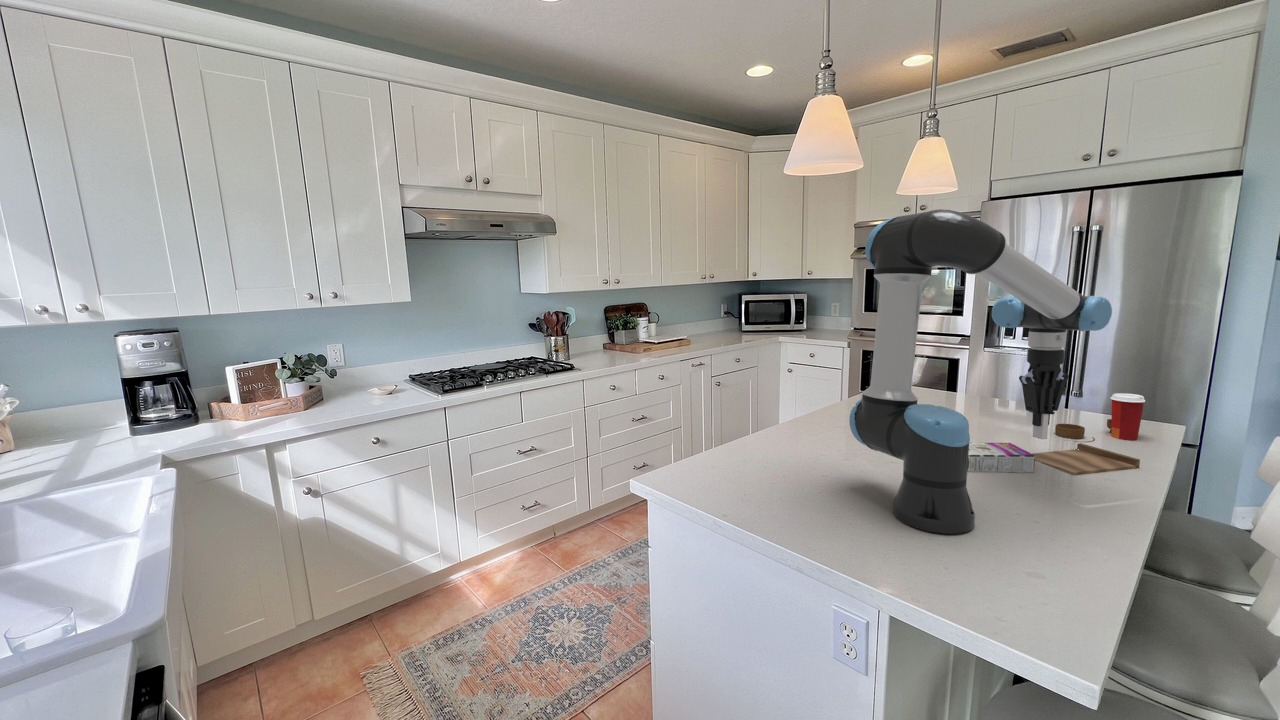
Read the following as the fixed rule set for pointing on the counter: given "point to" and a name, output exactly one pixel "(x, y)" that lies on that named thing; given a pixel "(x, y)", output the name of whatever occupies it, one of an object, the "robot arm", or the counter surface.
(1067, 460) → the board
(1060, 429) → the place setting
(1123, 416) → the paper cup
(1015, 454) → the candy bar box
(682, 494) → the counter surface
